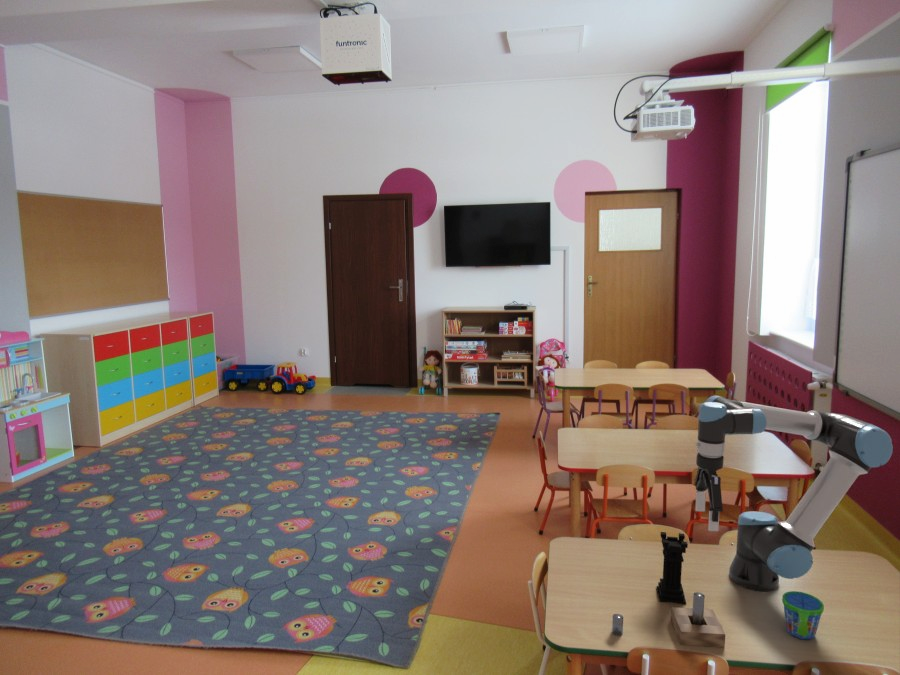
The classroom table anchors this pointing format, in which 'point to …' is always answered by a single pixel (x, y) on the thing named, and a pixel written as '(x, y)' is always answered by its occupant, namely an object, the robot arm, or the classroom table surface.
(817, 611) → the snack cup
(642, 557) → the classroom table surface
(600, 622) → the classroom table surface
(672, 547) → the chess piece
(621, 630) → the short pin
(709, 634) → the hole block
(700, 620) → the long pin
